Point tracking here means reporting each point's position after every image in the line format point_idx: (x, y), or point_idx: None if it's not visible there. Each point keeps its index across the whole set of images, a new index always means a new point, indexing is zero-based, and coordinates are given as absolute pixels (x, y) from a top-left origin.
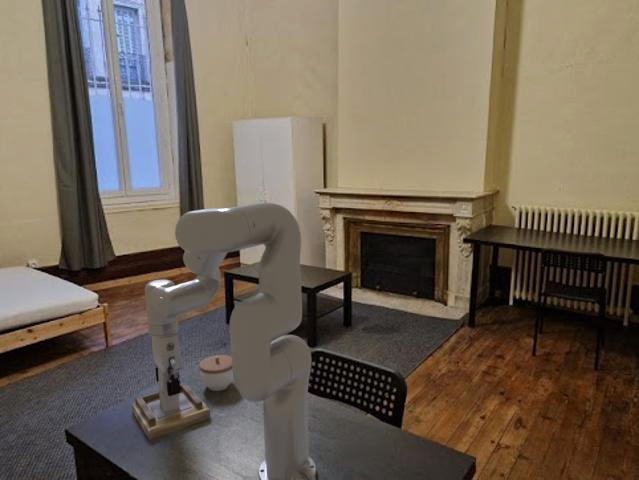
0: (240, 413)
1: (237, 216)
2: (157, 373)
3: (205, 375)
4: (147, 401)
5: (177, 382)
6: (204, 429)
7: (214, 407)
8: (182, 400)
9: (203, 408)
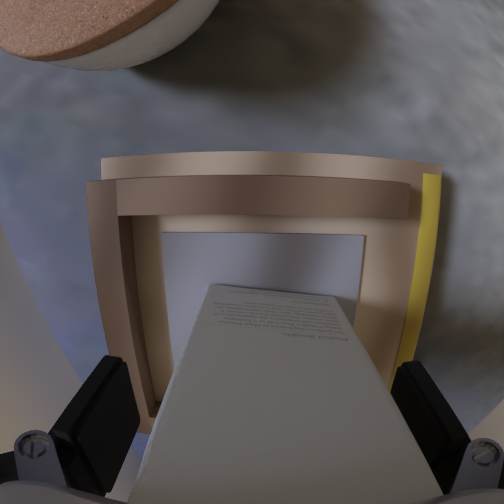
0: (454, 50)
1: None
2: (119, 463)
3: (141, 39)
4: (154, 384)
5: (469, 439)
6: (469, 225)
7: (345, 99)
8: (258, 252)
9: (414, 186)
